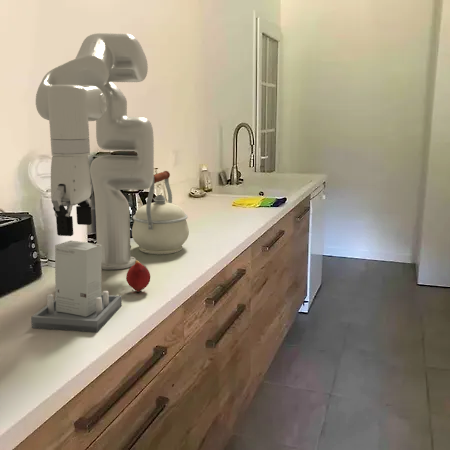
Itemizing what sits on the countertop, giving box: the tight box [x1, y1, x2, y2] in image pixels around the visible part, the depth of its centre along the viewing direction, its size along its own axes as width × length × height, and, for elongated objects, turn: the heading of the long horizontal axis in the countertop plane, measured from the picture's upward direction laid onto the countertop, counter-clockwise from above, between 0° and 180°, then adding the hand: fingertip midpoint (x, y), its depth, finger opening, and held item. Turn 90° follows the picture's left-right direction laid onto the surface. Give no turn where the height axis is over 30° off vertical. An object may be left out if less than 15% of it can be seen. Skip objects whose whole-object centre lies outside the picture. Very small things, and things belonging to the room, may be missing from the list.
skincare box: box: [54, 240, 102, 317], centre depth 111 cm, size 8×6×15 cm
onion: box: [125, 259, 151, 293], centre depth 127 cm, size 6×6×8 cm
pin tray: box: [30, 290, 123, 333], centre depth 112 cm, size 15×14×5 cm
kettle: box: [131, 170, 190, 255], centre depth 168 cm, size 25×18×25 cm
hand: (75, 229), depth 109 cm, fingers open, 9 cm apart
